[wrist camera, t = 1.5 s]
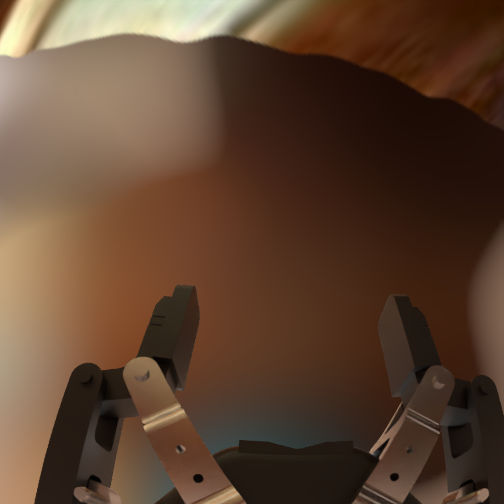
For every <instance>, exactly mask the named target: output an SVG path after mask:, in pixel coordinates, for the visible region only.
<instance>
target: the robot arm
mask: <svg viewBox="0 0 504 504" xmlns="http://www.w3.org/2000/svg"><path fill="white" fill-rule="evenodd" d="M199 320H200V311H199V305H198V298H197V292H196V287H195V286H190V285H177V286H176V287H175V290H174V293H173V296H172V297H167V296H164V297H163V298H162V299H161V300H160V301H159V302H158V303H157V304H156V306H155V309H154V311H153V314H152V317H151V319H150V322H149V325H148V327H147V330H146V333H145V336H144V338H143V341H142V344H141V346H140V349H139V352H138V355H137V357H136V358H135V359H133V360H131V361H130V362H129V363H127V365H126V366H125V367H122V368H118V369H110V370H101V369H100V368H99V367H98V366H97V365H95V364H93V363H84V364H81V365H79V366H78V367H76V368H75V369H74V370H73V372H72V374H71V376H70V379H69V382H68V385H67V387H66V390H65V393H64V396H63V399H62V402H61V405H60V408H59V411H58V414H57V417H56V421H55V424H54V427H53V431H52V434H51V437H50V441H49V444H48V448H47V451H46V455H45V459H44V463H43V467H42V471H41V475H40V480H39V484H38V488H37V493H36V498H35V503H34V504H121V500H120V497H119V496H118V494H117V493H116V492H115V491H114V490H112V489H110V485H111V480H112V474H113V469H114V464H115V458H116V454H117V449H118V444H119V439H120V435H121V430H122V426H123V421H124V418H126V417H136V416H140V417H141V419H142V422H143V427H144V429H145V431H146V434H147V436H148V438H149V440H150V442H151V444H152V446H153V448H154V450H155V451H156V453H157V455H158V457H159V459H160V461H161V463H162V465H163V466H164V468H165V470H166V472H167V473H168V475H169V477H170V479H171V480H172V482H173V484H174V486H175V487H174V488H173V489H172V490H171V491H170V492H168V493H167V494H166V495H165V496H163V497H162V498H161V499H160V500H159V501H157V502H156V503H155V504H422V503H421V502H420V501H418V499H416V498H415V496H414V495H413V494H411V492H410V490H411V488H412V486H413V485H414V483H415V481H416V479H417V478H418V476H419V474H420V472H421V470H422V469H423V466H424V465H425V463H426V461H427V459H428V457H429V455H430V453H431V451H432V449H433V447H434V444H435V443H436V440H437V438H438V436H439V433H440V428H439V427H438V426H439V425H441V428H442V436H443V444H444V452H445V461H446V471H447V482H448V495H447V496H445V498H444V499H443V501H442V504H504V415H503V411H502V407H501V403H500V399H499V395H498V392H497V388H496V386H495V383H494V382H493V381H492V380H491V379H490V378H489V377H487V376H484V375H479V376H477V377H475V378H474V379H473V381H472V382H470V381H465V380H461V379H456V378H454V377H453V375H452V373H451V372H450V371H449V370H448V369H447V368H445V367H443V366H442V365H441V362H440V359H439V356H438V353H437V350H436V347H435V344H434V341H433V338H432V336H431V332H430V330H429V328H428V324H427V321H426V319H425V316H424V315H423V314H422V312H421V311H420V310H419V309H418V308H417V307H412V304H411V302H410V299H409V297H408V296H407V295H390V296H389V298H388V300H387V302H386V305H385V308H384V310H383V313H382V315H381V317H380V320H379V335H380V339H381V344H382V348H383V353H384V357H385V362H386V367H387V372H388V377H389V382H390V387H391V392H392V397H398V396H401V398H402V403H401V404H400V406H399V407H398V409H397V411H396V413H395V415H394V416H393V418H392V420H391V421H390V423H389V425H388V426H387V428H386V430H385V431H384V433H383V434H382V436H381V437H380V439H379V440H378V442H377V443H376V444H375V445H374V447H373V448H372V449H371V451H370V452H367V451H365V450H362V449H359V448H356V447H353V441H342V442H341V441H340V442H325V443H321V444H318V445H313V446H309V447H305V448H301V449H294V448H290V447H286V446H282V445H278V444H274V443H271V442H262V441H261V442H260V441H245V440H239V446H234V447H230V448H227V449H224V450H221V451H219V452H217V453H215V454H213V455H211V453H210V452H209V450H208V449H207V447H206V446H205V444H204V443H203V441H202V439H201V438H200V436H199V435H198V433H197V431H196V430H195V428H194V426H193V425H192V423H191V421H190V420H189V418H188V416H187V415H186V413H185V411H184V410H183V408H182V407H181V406H180V404H179V403H178V401H177V399H176V398H175V396H174V395H175V391H176V390H181V391H183V390H184V386H185V382H186V378H187V373H188V369H189V365H190V360H191V356H192V352H193V348H194V343H195V339H196V335H197V331H198V326H199Z"/></svg>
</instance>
